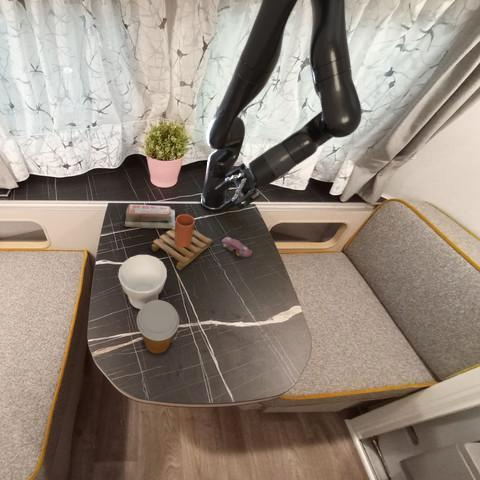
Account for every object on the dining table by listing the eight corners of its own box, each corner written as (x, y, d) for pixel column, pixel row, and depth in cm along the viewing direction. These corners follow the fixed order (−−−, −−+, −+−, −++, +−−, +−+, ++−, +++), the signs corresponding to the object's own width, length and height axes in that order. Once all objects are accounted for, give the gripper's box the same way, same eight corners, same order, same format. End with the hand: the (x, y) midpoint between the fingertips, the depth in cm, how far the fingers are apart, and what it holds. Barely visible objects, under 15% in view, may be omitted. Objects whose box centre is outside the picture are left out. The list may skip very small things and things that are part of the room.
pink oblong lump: (220, 248, 93) (218, 240, 87) (228, 238, 94) (226, 229, 88) (245, 264, 89) (245, 256, 83) (253, 253, 89) (254, 245, 83)
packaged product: (123, 217, 94) (127, 199, 101) (124, 227, 97) (128, 210, 104) (175, 219, 94) (175, 201, 101) (174, 229, 97) (174, 212, 104)
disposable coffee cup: (139, 322, 72) (138, 297, 63) (175, 324, 71) (179, 299, 63) (136, 359, 65) (134, 336, 56) (176, 361, 65) (180, 338, 56)
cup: (161, 320, 72) (162, 296, 64) (115, 311, 74) (111, 288, 66) (168, 282, 81) (170, 258, 73) (128, 275, 82) (125, 251, 74)
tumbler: (181, 232, 92) (184, 211, 86) (195, 241, 89) (198, 220, 83) (170, 240, 89) (171, 220, 83) (183, 250, 86) (186, 229, 80)
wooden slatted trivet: (182, 226, 99) (183, 220, 96) (211, 244, 92) (212, 238, 90) (151, 249, 90) (151, 242, 88) (180, 271, 84) (181, 264, 82)
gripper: (257, 142, 73) (208, 178, 81) (273, 170, 63) (215, 208, 71) (270, 160, 77) (222, 193, 85) (287, 189, 67) (231, 224, 75)
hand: (219, 200), depth 78 cm, fingers open, 8 cm apart
